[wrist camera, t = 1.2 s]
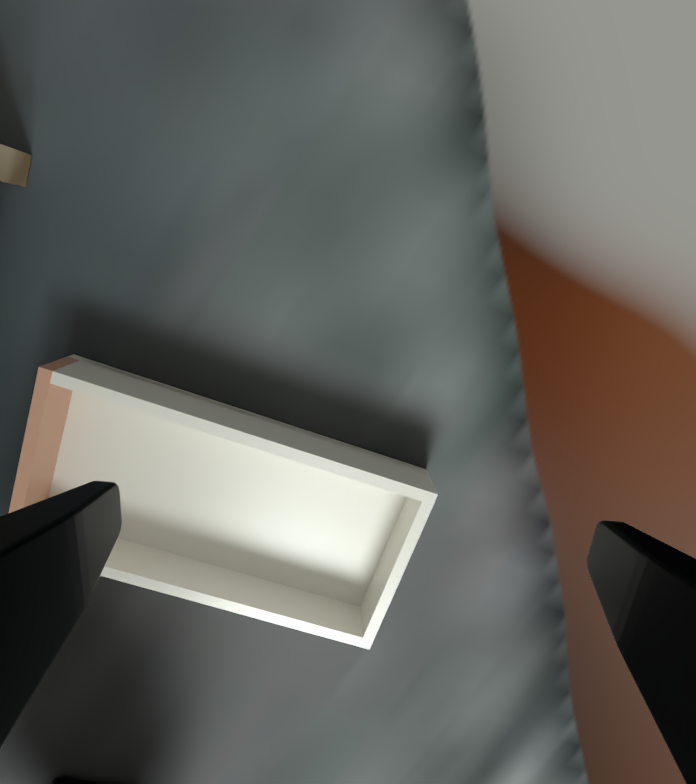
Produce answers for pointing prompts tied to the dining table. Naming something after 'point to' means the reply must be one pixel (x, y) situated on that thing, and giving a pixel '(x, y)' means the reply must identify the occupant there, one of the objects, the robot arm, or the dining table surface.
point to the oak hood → (14, 166)
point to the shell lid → (228, 500)
